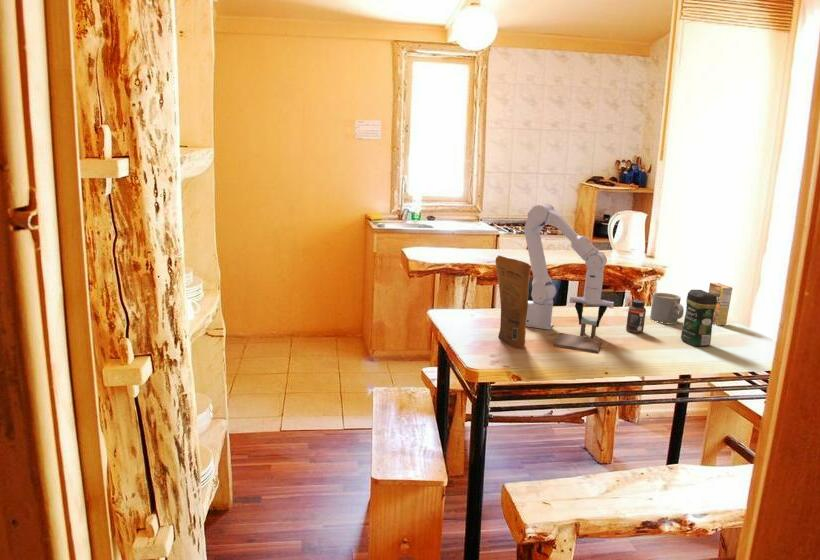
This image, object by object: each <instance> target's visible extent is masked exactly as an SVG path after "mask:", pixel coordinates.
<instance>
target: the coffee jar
mask: <svg viewBox="0 0 820 560" xmlns="http://www.w3.org/2000/svg"><path fill="white" fill-rule="evenodd" d="M708 292H709V291H705V290H703V289H690V290H689V291H688V292H687V295H686V300H685V301H686V306H685V307H686V309H685V315H684V321H683V325H682V329H681V334H680V339H681V340H682V341H683V342H685V343H687V344H688V345H691V346H695V347H701V348H702V347H703V348H704V347H708V346H710V345H711V341H712V334H713V333H712V332H713V325H714V324H713V315H714V311H715V308H716V305H717V297H716V296H715V295H713V294H710V293H708Z"/></svg>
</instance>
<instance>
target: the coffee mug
mask: <svg viewBox="0 0 820 560" xmlns="http://www.w3.org/2000/svg"><path fill="white" fill-rule="evenodd" d="M684 310H685V309H684V306H683V304H681V296H679V295H677V294H674V293H673V294H672V293H669V292H668V293H667V292H665V293H664V292H655V293H653V295H652V303H651V309H650V316H649V317H650V318H651V319H652V320H654V321H653V322H655V321H658V322H657V323H659V322H663V323H662V324H664V323H676V324H677V323H678V320H680V319H681V318H682V317H683V316H684V312H685V311H684ZM650 318H649V319H650ZM651 319H650V320H651ZM652 320H651V321H652Z"/></svg>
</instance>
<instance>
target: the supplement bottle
mask: <svg viewBox="0 0 820 560" xmlns="http://www.w3.org/2000/svg"><path fill="white" fill-rule="evenodd" d="M631 304H632V305H630V306H629V307H628V311H627V318H626V326H625V330H626V331H627V332H629V333H633V334H642V333H643V332H644V328H645V321H646V320H645V319H646V313H647V309H646V308H645V301H643V300H638V299H634V300H632V301H631Z"/></svg>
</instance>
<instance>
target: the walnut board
mask: <svg viewBox="0 0 820 560" xmlns="http://www.w3.org/2000/svg"><path fill="white" fill-rule="evenodd" d="M602 341H603V340H602V338H595V337H594V338H591V336H590V337H589V336H585V335H584V336H580V335H577V334H571V333H563V332H559V333H558V335H557V337H556V339H555V340H554V342H553V347H559V348H564V349H571V350H575V351H583V352H588V351H589V353H594V352H595V353H596V354H598V353H599V349H600V347H601V344H602Z"/></svg>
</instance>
